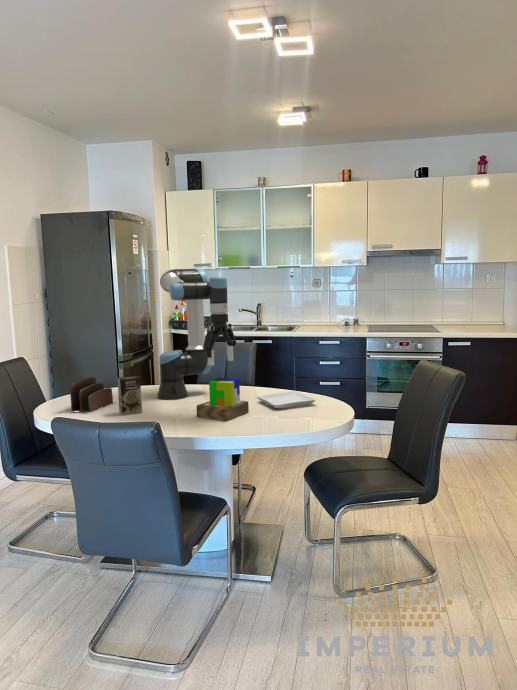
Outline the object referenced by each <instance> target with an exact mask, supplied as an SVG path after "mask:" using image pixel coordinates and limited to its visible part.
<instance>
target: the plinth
mask: <svg viewBox="0 0 517 690" xmlns="http://www.w3.org/2000/svg"><path fill="white" fill-rule="evenodd" d="M248 412H249V413H250V410H249V401H246V400H240V402H238V403H237V404H235V405H234V406H210V400H208V401H206V402H202V403H200V404H197V405H196V418H203V419H210V420H216V421H222V422H223V421H225V422H228V420H229V421H231V420H233V418H234V419H236V418H239V417H241V416H244V415H246V413H247V414H249V413H248ZM243 414H244V415H243ZM238 416H239V417H238Z"/></svg>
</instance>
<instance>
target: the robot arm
mask: <svg viewBox="0 0 517 690" xmlns="http://www.w3.org/2000/svg"><path fill="white" fill-rule="evenodd" d="M159 284H160V285H159V286H160V287H161V289H162V290H163V291H164V292H167V293H169V295H170V296H169V297H170V299H171V300H172V301H186V302H185V305H186V320H187V321H186V322H187V342H188V346H187V347H185V352H183V350H181V349H176V350H175V349H174V350H170V351H164V352H162V353H161V354H160V355H159V357H158V358H159V363H158V365H159V377H160V378H159V379H160V383H159V387H158V391H157V398H158V399H160V400H179V399H185V398H186V397H189V396H188V394H189V393H188V390H187V388H186V384H185V382H184V376H190V375H191V376H192V375H203V374H204V375H205V374H208V373H209V372H210V371H211V369H212V366H215V360H214V359H215V352H214V349H213V348H214V345H215V344H216V342H217V339H218V338H219V337H220V336H222V337H223V339H224V341H225V343H226V344H227V346H226V355H227V362H228V361H229V362H233V361H234V347H235V346H236V344H237V339H236V337H235V334H234V330H233V328H232V324H231V323H228V322H229V314H228V312H229V310H228V309H229V308H228V280H227V277H226V276H210V277H209V278H208V273H207V272H206V271H205V269H203V268H175V269H171V270H168V271H166V272H164V273H163V274H162V275H161V277H160V279H159ZM204 300H209V313H210V319H209V320H210V323H212V325H207V329H206V331H205V314H204V313H205V312H204V311H205V310H204ZM205 332H206V334H205Z"/></svg>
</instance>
